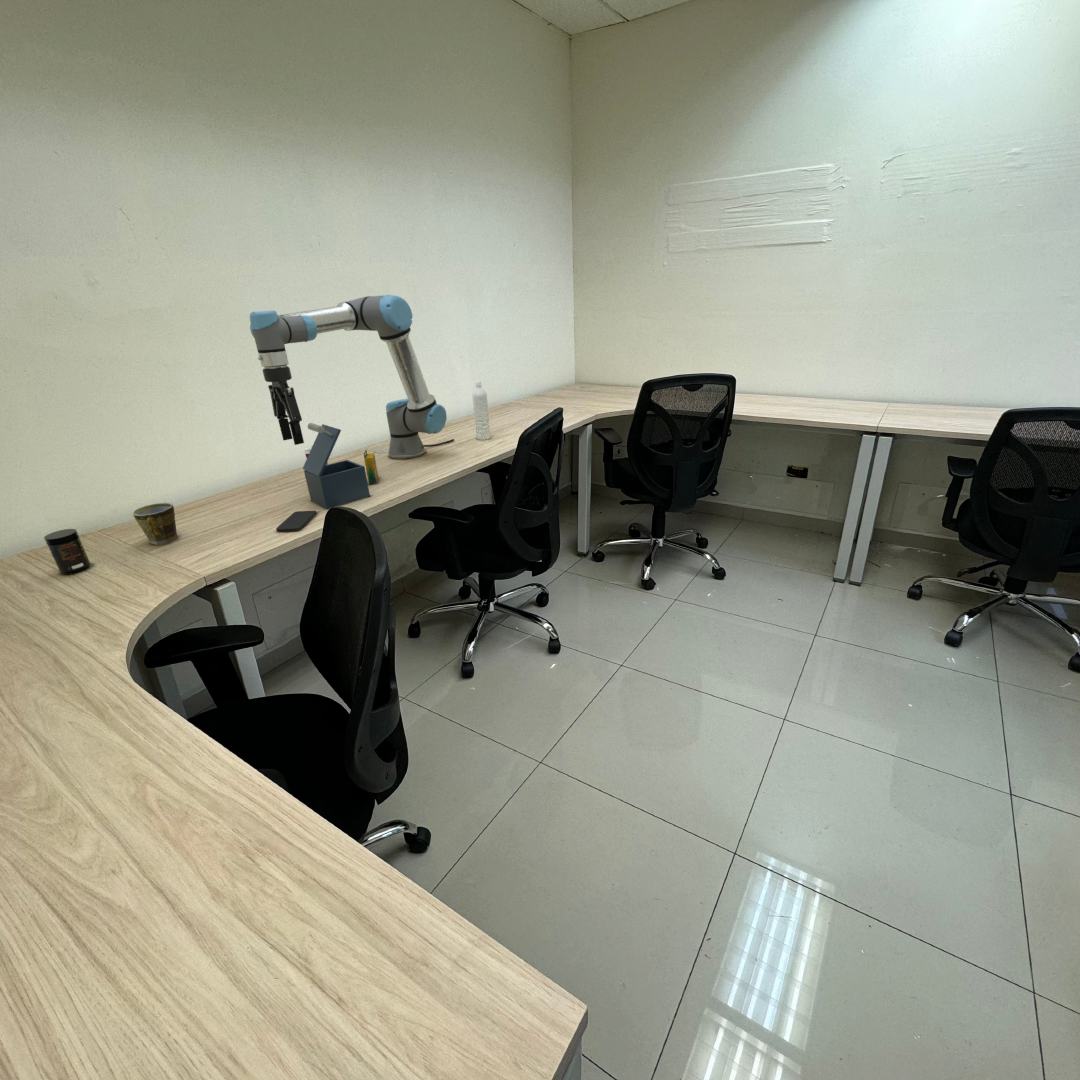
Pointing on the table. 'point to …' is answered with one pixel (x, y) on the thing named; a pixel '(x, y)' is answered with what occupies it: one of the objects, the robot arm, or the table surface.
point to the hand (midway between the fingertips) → (293, 441)
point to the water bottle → (481, 413)
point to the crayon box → (371, 467)
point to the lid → (321, 448)
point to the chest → (338, 484)
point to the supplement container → (67, 551)
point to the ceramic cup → (157, 522)
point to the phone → (296, 521)
